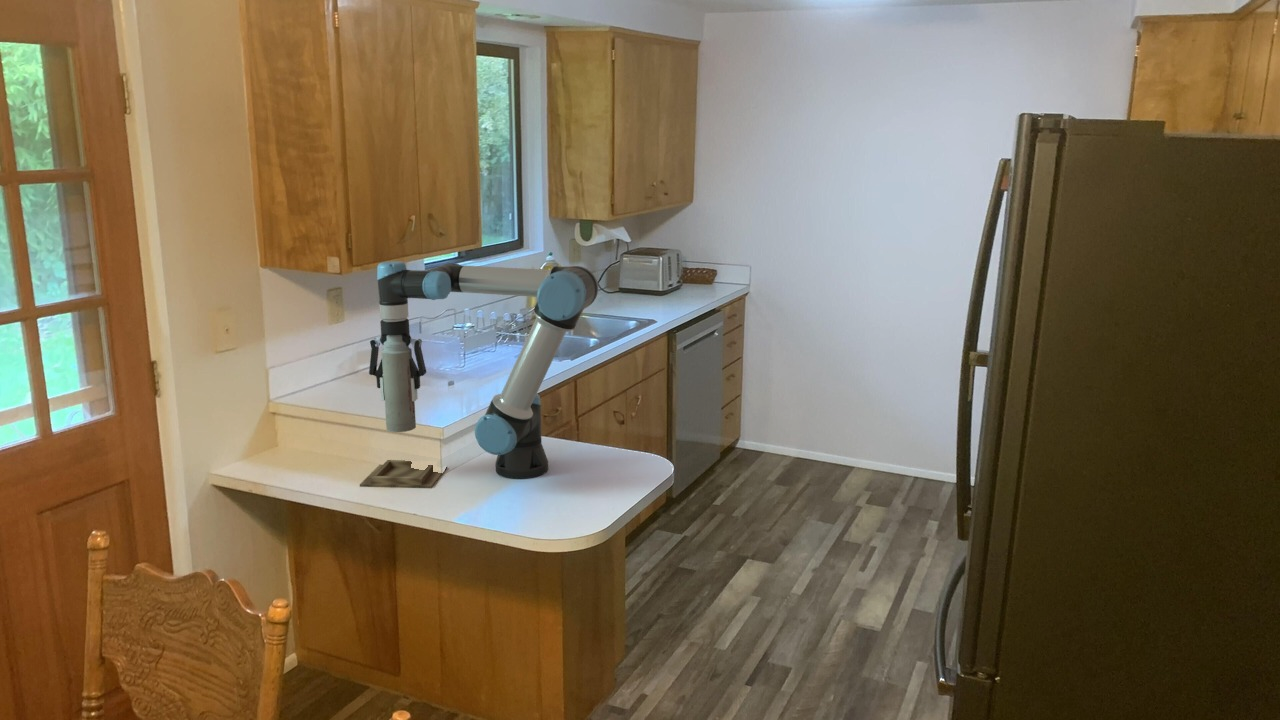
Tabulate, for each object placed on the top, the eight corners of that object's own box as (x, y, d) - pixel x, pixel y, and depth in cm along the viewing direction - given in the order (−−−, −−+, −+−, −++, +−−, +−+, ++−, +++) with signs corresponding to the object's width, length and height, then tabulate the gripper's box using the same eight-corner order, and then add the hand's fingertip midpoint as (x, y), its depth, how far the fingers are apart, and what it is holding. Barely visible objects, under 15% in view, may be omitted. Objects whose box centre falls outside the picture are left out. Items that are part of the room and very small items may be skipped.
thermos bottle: (420, 424, 260) (415, 327, 254) (408, 433, 252) (402, 333, 246) (394, 422, 262) (388, 326, 255) (381, 431, 254) (374, 331, 248)
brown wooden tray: (447, 468, 267) (446, 460, 267) (431, 488, 252) (430, 480, 251) (379, 466, 269) (379, 458, 268) (359, 486, 253) (359, 478, 253)
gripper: (436, 316, 253) (440, 396, 258) (362, 315, 254) (367, 395, 259) (428, 322, 245) (432, 404, 251) (351, 321, 247) (357, 402, 252)
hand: (399, 399), depth 255 cm, fingers closed on thermos bottle, 8 cm apart
